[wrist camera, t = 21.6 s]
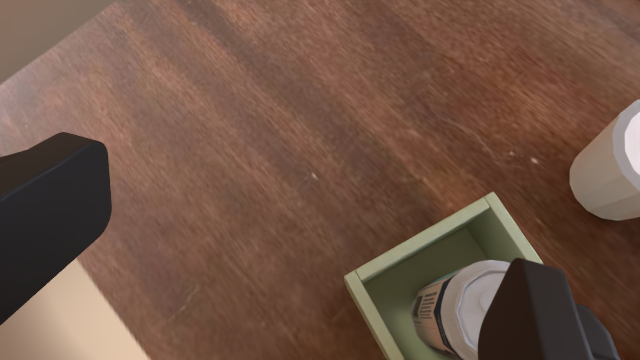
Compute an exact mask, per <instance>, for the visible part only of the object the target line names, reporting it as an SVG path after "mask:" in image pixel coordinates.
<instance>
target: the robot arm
mask: <svg viewBox="0 0 640 360" xmlns="http://www.w3.org/2000/svg"><path fill="white" fill-rule="evenodd" d="M111 210H112V205H111V191H110V177H109V163H108V152H107V149H106V147H105V145H104V144H103V143H101V142H99V141H96V140H92V139H88V138H85V137H81V136H77V135H74V134H70V133H66V132H62V133H58V134H56V135H54V136H52V137H50V138H48V139H47V140H45V141H43V142H41V143H39V144H37V145H35V146H33V147H32V148H30V149H28V150H25V151H22V152H18V153H14V154H11V155H7V156H4V157H0V325H1V324H3V323H4V322H5V321H6V320H7V319H8V318H9V317H10V316H11V315H13V314H14V313H15V312H16V311H17V310H18V309H19V308H20V307H21V306H23V305H24V304H25V303H26V302H27V301H28V300H29V299H30V298H31V297H32V296H34V295H35V294H36V293H37V292H38V291H39V290H40V289H42V288H43V287H44V286H45V285H46V284H47V283H48V282H49V281H50V280H52V279H53V278H54V277H55V276H56V275H57V274H58V273H59V272H61V271H62V270H63V269H64V268H65V267H66V266H67V265H68V264H70V263H71V262H72V261H73V260H74V259H75V258H76V257H77V256H78V255H80V254H81V253H82V252H83V251H84V250H85V249H86V248H87V247H88V246H90V245H91V244H92V243H93V242H94V241H95V240H96V239H97V238H98V237H99V236H100V235H101V234H102V233H103V232H104V230H105V229H106V227H107V225H108V222H109V220H110V216H111ZM478 360H620V358H619V355H618V353H617V350H616V348H615V345H614V343H613V340H612V338H611V335H610V333H609V332H608V331H607V329H606V328H605V327H604V326H603V325H602V323H601V322H600V321H599V320H598V318H597V317H596V316H595V315H594V314H593V312H592V311H591V310H590V309H589V308H588V307H587V306H583V305H580V304H576V303H575V302H574V299H573V296H572V293H571V291H570V288H569V285H568V282H567V279H566V276H565V273H564V272H563V270H561V269H558V268H555V267H551V266H547V265H544V264H540V263H536V262H533V261H529V260H526V259H522V258H518V257H517V258H515V259H514V260H513V261H512V262H511V264H510V265H509V267H508V269H507V271H506V273H505V275H504V277H503V279H502V282H501V284H500V286H499V288H498V290H497V292H496V294H495V296H494V298H493V300H492V302H491V304H490V306H489V308H488V310H487V312H486V315H485V317H484V319H483V322H482V325H481V328H480V333H479V338H478Z"/></svg>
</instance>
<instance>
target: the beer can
mask: <svg viewBox="0 0 640 360" xmlns="http://www.w3.org/2000/svg"><path fill="white" fill-rule="evenodd" d="M510 264H511V263H508V262H505V261H495V260H486V261H480V262H476V263H473V264H471V265H469V266H466V267H464V268H462V269H459V270H457V271H454V272H452V273H450V274H447V275H445V276H442V277H440V278H437V279H435V280H433V281H431V282H429V283H427V284H426V285H424V286H423V287H422V288H421V289H420V290H419V291H418V292H417V293H416V295H415V297H414V299H413V303H412V306H411V322H412V325H413V328H414V331H415V333H416V335H417V336H418V338H419V339H420V340H421V342H423V343H424V344H425V345H426V346H427V347H428V348H430V349H432V350H433V351H435V352H437V353H440V354H442V355H444V356H447V357H449V358H452V359H454V360H478V338H479V333H480V328H481V325H482V322H483V319H484V317H485V315H486V312H487V310H488V308H489V306H490V304H491V302H492V300H493V298H494V296H495V294H496V292H497V290H498V288H499V286H500V284H501V282H502V279H503V277H504V275H505V273H506V271H507V269H508V267H509V265H510Z"/></svg>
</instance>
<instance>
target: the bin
mask: <svg viewBox="0 0 640 360" xmlns="http://www.w3.org/2000/svg"><path fill="white" fill-rule="evenodd" d="M517 257H518V258H522V259H526V260H529V261H533V262H536V263H540V264H543V262H542V261H541V260H540V258H539V257H538V255H537V254H536V252H535V251H534V249H533V248H532V247H531V245H530V244H529V242H528V241H527V239H526V238H525V236H524V235H523V234H522V232H521V231H520V229H519V228H518V226H517V225H516V223H515V222H514V220H513V219H512V218H511V216H510V215H509V213H508V212H507V210H506V209H505V207H504V206H503V205H502V203H501V202H500V200H499V199H498V197H497V196H496V194H495V193H494V192H491V193H490V194H488V195H486V196H484V197H483V198H481V199H479V200H477V201H475V202H474V203H472V204H470V205H468V206H467V207H465V208H463V209H461V210H460V211H458V212H456V213H454V214H453V215H451V216H449V217H447V218H445V219H444V220H442V221H440V222H438V223H437V224H435V225H433V226H431V227H430V228H428V229H426V230H424V231H423V232H421V233H419V234H417V235H415V236H414V237H412V238H410V239H408V240H407V241H405V242H403V243H401V244H400V245H398V246H396V247H394V248H393V249H391V250H389V251H387V252H386V253H384V254H382V255H380V256H378V257H377V258H375V259H373V260H371V261H370V262H368V263H366V264H364V265H363V266H361V267H359V268H357V269H356V270H355V271H352V272H350V273H348V274H347V275H345V276H344V280H345V286H346V288H347V289H348V291H349V293H350V295H351V297H352V298H353V300H354V302H355V304H356V306H357V307H358V309H359V311H360V313H361V315H362V316H363V318H364V320H365V322H366V324H367V326H368V327H369V329H370V331H371V333H372V335H373V336H374V338H375V340H376V342H377V344H378V345H379V347H380V349H381V351H382V353H383V354H384V356H385V358H386V360H454V359H452V358H449V357H447V356H444V355H442V354H440V353H437V352H435V351H433V350H432V349H430V348H428V347H427V346H426V345H425V344H424V343H423V342H421V340H420V339H419V338H418V336H417V335H416V333H415V331H414V328H413V325H412V322H411V306H412V303H413V299H414V297H415V295H416V293H417V292H418V291H419V290H420V289H421V288H422V287H423V286H424V285H426V284H427V283H429V282H431V281H433V280H435V279H437V278H440V277H442V276H445V275H447V274H450V273H452V272H454V271H457V270H459V269H462V268H464V267H466V266H469V265H471V264H473V263H476V262H480V261H486V260H495V261H505V262H508V263H511V262H512V261H513V260H514V259H515V258H517Z"/></svg>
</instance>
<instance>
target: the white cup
mask: <svg viewBox="0 0 640 360" xmlns="http://www.w3.org/2000/svg"><path fill="white" fill-rule="evenodd" d="M570 187H571V189H572V191H573V194H574V196H575V199H576V200H577V201H578V202H579V203H580V204H581V205H582V206H583V207H584V208H585V209H586V210H587V211H588V212H590V213H592V214H594V215H596V216H598V217H600V218H602V219H609V220H617V221H621V220H626V219H632V218H637V217H640V99H638V100H636V101H635V102H634V103H633V104H631V105H630V106H629V107H628V108H626V109H625V110H624V111H622V112H621V113H620V114H619V115H618V116H617V117H616V118H615V119H614V120H613V121H612V122H611V123H610V124H609V125H608V126H607V127H606V128H605V129H604V130H603V131H602V132H601V133H600V134H599V135H598V136H597V137H596V138H595V139H594V140H593V141H592V142H591V143H590V144H588V145H587V146H586V147H585V148H584V149H583V150H582V151H581V152H580V153H579V154H578V155H577V156H576V158H575V160H574V162H573V164H572V166H571V168H570Z"/></svg>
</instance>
